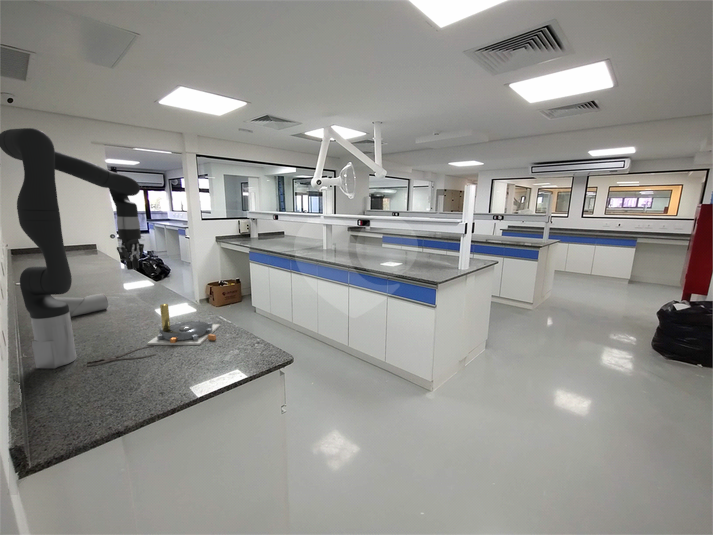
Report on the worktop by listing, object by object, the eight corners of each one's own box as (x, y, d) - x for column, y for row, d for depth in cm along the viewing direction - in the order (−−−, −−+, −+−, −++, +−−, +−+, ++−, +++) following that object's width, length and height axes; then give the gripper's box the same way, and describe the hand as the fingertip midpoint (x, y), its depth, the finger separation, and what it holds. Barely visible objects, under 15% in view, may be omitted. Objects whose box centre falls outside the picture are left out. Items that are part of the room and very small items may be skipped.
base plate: (210, 345, 120) (209, 340, 120) (147, 344, 119) (146, 339, 119) (229, 326, 140) (228, 322, 139) (175, 325, 139) (174, 321, 138)
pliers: (161, 352, 112) (91, 372, 97) (161, 354, 113) (91, 374, 98) (152, 344, 119) (85, 362, 104) (152, 346, 119) (85, 364, 104)
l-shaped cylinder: (59, 320, 138) (110, 308, 155) (53, 297, 137) (106, 288, 155) (45, 321, 147) (95, 309, 164) (39, 299, 146) (91, 290, 163)
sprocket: (200, 343, 119) (198, 312, 117) (145, 342, 118) (141, 311, 116) (221, 323, 140) (219, 297, 138) (174, 322, 139) (172, 296, 137)
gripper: (126, 229, 119) (131, 272, 122) (148, 227, 133) (152, 265, 136) (106, 228, 119) (111, 271, 122) (131, 226, 133) (135, 265, 136)
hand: (133, 268), depth 129 cm, fingers open, 3 cm apart
